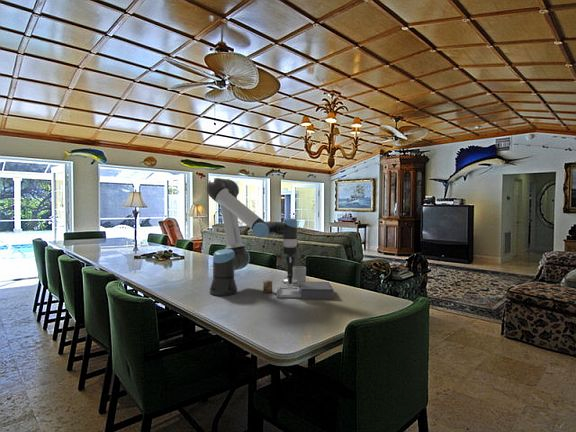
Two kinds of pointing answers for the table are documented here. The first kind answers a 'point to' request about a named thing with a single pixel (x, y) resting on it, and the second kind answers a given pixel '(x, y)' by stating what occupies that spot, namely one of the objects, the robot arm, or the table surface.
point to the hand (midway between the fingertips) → (289, 287)
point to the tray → (288, 292)
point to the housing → (316, 290)
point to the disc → (287, 281)
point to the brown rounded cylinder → (267, 286)
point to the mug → (299, 274)
